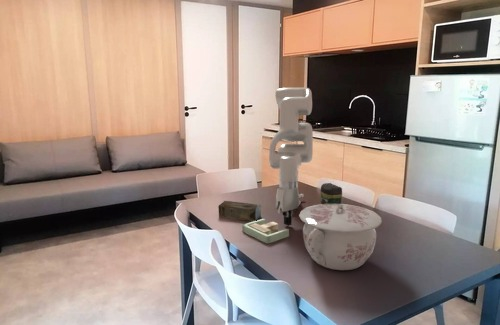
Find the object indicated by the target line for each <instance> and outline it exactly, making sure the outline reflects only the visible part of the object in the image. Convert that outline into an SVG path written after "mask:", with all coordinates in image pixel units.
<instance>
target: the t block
mask: <svg viewBox="0 0 500 325" xmlns="http://www.w3.org/2000/svg"><path fill="white" fill-rule="evenodd" d="M249 226H250V227H252V228H254V229H256V230H258V231H260V232H263V233H265V234H267V235H269V234H272V233H275V232H278V231H279V223H277V222H275V221H271V222H267V223H266V222H265V224H263V225H258V224H256V223H254V224H251V225H249Z"/></svg>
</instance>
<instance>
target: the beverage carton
mask: <svg viewBox="0 0 500 325" xmlns="http://www.w3.org/2000/svg"><path fill="white" fill-rule="evenodd" d="M217 209H218V217H219V218H226V219H227V218H228V219H234V220H243V221H249V220H251V222H254V221H256V220H259V218H260V217H261V214H262V210H261V209H262V205H261V204H257V203H256V204H255V203H254V204H253V203H249V202H240V201H231V200H223V202H221V203H220V204H219V205H218V208H217Z"/></svg>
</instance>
